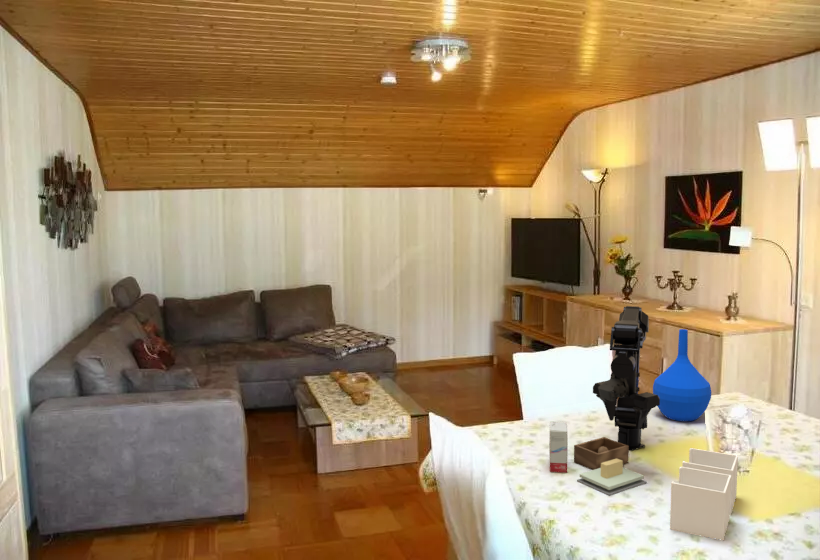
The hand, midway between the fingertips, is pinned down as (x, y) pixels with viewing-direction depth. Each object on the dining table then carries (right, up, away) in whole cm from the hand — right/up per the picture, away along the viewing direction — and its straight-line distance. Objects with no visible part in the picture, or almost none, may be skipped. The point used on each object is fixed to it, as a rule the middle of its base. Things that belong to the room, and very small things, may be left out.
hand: (624, 424), depth 191 cm
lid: (-6, -12, -9) cm, 16 cm away
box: (-5, -12, +4) cm, 13 cm away
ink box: (-18, -12, +2) cm, 22 cm away
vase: (+32, -7, +44) cm, 55 cm away
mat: (-6, -13, -9) cm, 17 cm away
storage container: (+10, -15, -27) cm, 33 cm away
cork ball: (-4, -9, +7) cm, 12 cm away
